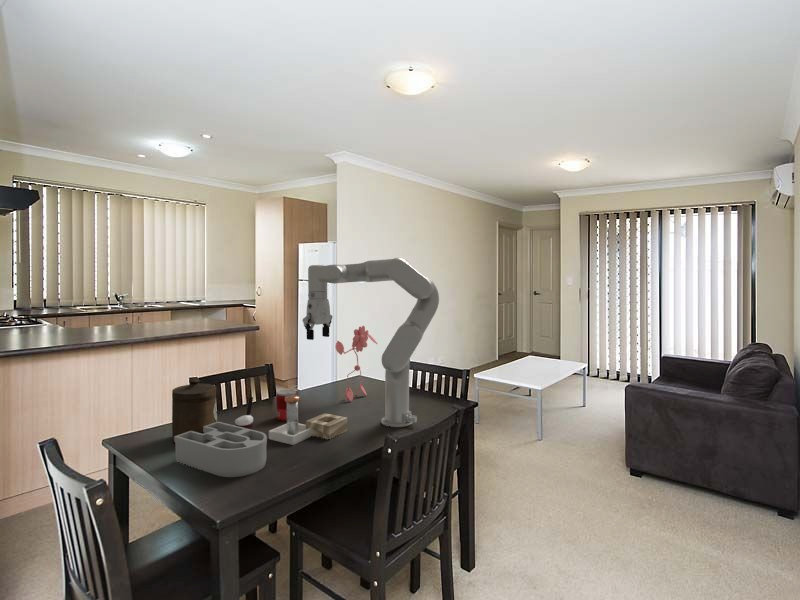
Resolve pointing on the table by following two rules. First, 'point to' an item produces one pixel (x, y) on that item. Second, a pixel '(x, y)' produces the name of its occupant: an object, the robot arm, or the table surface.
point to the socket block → (327, 425)
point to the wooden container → (193, 407)
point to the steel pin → (292, 414)
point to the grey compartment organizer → (223, 450)
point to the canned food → (283, 403)
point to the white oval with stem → (246, 417)
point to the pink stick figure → (359, 342)
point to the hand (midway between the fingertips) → (318, 338)
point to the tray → (282, 435)
